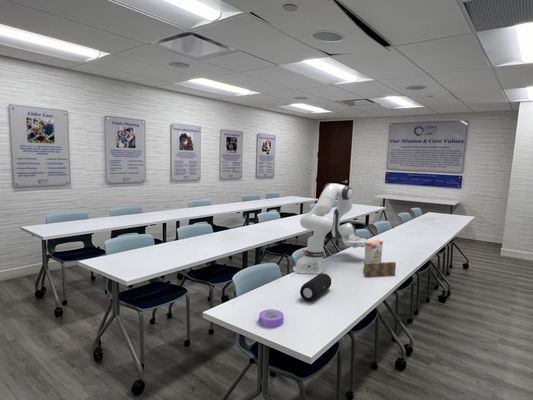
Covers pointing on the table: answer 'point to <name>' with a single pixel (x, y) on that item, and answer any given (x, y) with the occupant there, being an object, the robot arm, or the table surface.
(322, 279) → the portable speaker
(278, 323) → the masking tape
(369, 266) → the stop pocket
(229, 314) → the table surface
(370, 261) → the cracker box
